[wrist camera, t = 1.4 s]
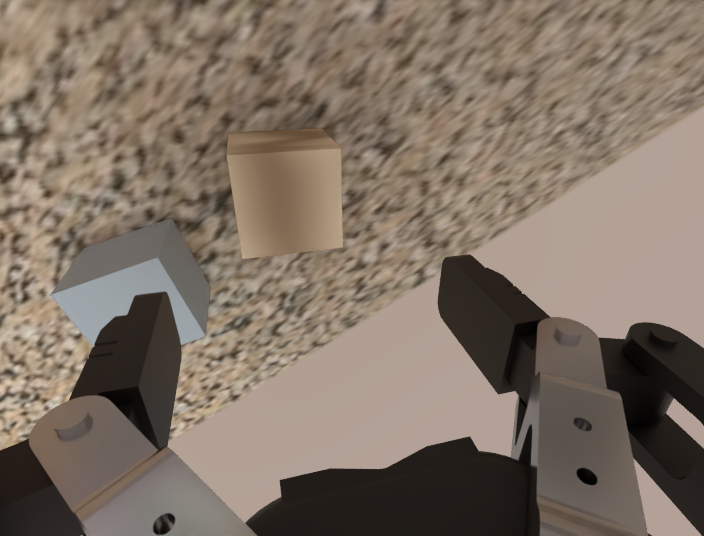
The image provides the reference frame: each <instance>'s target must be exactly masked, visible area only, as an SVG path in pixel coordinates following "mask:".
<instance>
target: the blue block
mask: <svg viewBox="0 0 704 536" xmlns="http://www.w3.org/2000/svg"><path fill="white" fill-rule="evenodd" d="M210 289H211V287H210V286H209V284H208V282H207V280H206V278H205V277H204V275H203V273H202V271H201V269H200V268H199V266H198V264H197V262H196V260H195V259H194V257H193V255H192V253H191V251H190V250H189V248H188V246H187V244H186V242H185V241H184V239H183V237H182V235H181V233H180V232H179V230H178V228H177V226H176V224H175V223H174V221H173V219H172V218H170V219H167V220H164V221H161V222H158V223H155V224H152V225H149V226H146V227H143V228H141V229H138V230H135V231H132V232H129V233H126V234H123V235H120V236H117V237H114V238H111V239H109V240H106V241H103V242H100V243H97V244H94V245H91V246H88V247H85V248H84V249H83V250H82V252H81V253H80V254H79V256H78V257H77V259H76V260H75V261H74V263H73V264H72V266H71V267H70V268H69V270H68V271H67V272H66V274H65V275H64V277H63V278H62V279H61V281H60V282H59V283H58V285H57V286H56V288H55V289H54V290H53V292H52V293H51V294H50V296H51V297H52V298H53V299H54V300H55V302H56V303H57V304H58V305H59V306H60V308H61V309H62V310H63V311H64V312H65V314H66V315H67V316H68V317H69V318H70V320H71V321H72V322H73V323H74V325H75V326H76V327H77V328H78V329H79V331H80V332H81V333H82V334H83V335H84V337H85V338H86V339H87V340H88V341H89V343H90V344H91V345H92V346H93V347H94V344H95V341H96V339H97V337H98V335H99V332H100V330H101V329H102V328H103V327H104V326H105V325H106V324H108V323H109V322H110V321H111V320H112V319H113V318H114V317H115V316H123V315H127V314H128V311H129V309H130V306H131V304H132V301H133V298H134V296H135V295H140V294H148V293H156V292H164V291H165V292H167V294H168V296H169V299H170V302H171V306H172V310H173V314H174V318H175V322H176V325H177V329H178V333H179V337H180V342H181V345H182V344H185V343H188V342H190V341H193V340H196V339H199V338H201V337H204V336H206V327H207V317H208V308H209V298H210Z"/></svg>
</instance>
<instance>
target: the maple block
mask: <svg viewBox="0 0 704 536" xmlns="http://www.w3.org/2000/svg"><path fill="white" fill-rule="evenodd" d="M227 162H228V168H229V175H230V181H231V188H232V195H233V201H234V208H235V214H236V221H237V227H238V234H239V240H240V247H241V253H242V259H247V258H256V257H264V256H273V255H282V254H291V253H300V252H309V251H318V250H326V249H335V248H343V236H342V175H341V148H340V147H339V146H338V145H337V144H336V143H335V142H334V140H333V139H332V138H331V137H330V136H329V135H328V134H327V133H326V132H325V131H324V130H323V129H322V128H314V129H294V130H274V131H254V132H234V133H228V144H227Z"/></svg>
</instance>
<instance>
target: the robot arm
mask: <svg viewBox="0 0 704 536" xmlns="http://www.w3.org/2000/svg"><path fill="white" fill-rule="evenodd" d="M438 309H439V313H440V316H441V318H442V319H443V321H444V322H445V324H446V325H447V326H448V328H449V329H450V330H451V331H452V333H453V334H454V336H455V337H456V338H457V340H458V341H459V342H460V344H461V345H462V346H463V348H464V349H465V350H466V352H467V353H468V354H469V356H470V357H471V358H472V360H473V361H474V363H475V364H476V365H477V367H478V368H479V369H480V371H481V372H482V373H483V375H484V376H485V377H486V379H487V380H488V381H489V383H490V384H491V385H492V386H493V388H494V389H495V391H496V392H497V393H498V394H502V393H507V392H512V391H516V393H517V394H518V395H519V396H518V399H517V403H516V409H515V419H514V430H513V440H512V450H511V458H510V457H508V456H504V455H500V454H496V453H490V452H483V451H478V449H477V448H476V446H475V445H474V443H473V441H472V439H471V438H470V437H466V438H461V439H457V440H453V441H448V442H444V443H440V444H435V445H431V446H427V447H425V448H423V449H421V450H419V451H417V452H416V453H414V454H412V455H410V456H408V457H406V458H404V459H402V460H400V461H399V462H397V463H395V464H393V465H391V466H389V467H387V468H384V469H327V470H322V471H317V472H313V473H309V474H304V475H300V476H296V477H291V478H287V479H283V480H280V486H281V497H280V498H278V499H277V500H275V501H273V502H271V503H270V504H268V505H267V506H265V507H264V508H262V509H261V510H259V511H258V512H257V513H256V514H255V515H253V516H252V517H251V518H250V519H249V520H248V521H247V522H246V523H244V522H243V521H242V520H241V519H240V518H239V517H238V516H237V515H236V514H235V513H234V512H233V511H232V510H231V509H230V508H229V507H228V506H227V505H226V504H225V503H224V502H223V501H222V500H221V499H220V498H219V497H218V496H217V495H216V494H215V493H214V492H213V491H212V490H211V489H210V488H209V487H208V486H207V485H206V484H205V483H204V482H203V481H202V480H201V479H200V478H199V477H198V476H197V475H196V474H195V473H194V472H193V471H192V470H191V469H190V468H189V467H188V466H187V465H186V464H185V463H184V462H183V461H182V460H181V459H180V458H179V457H178V455H177V454H175V453H174V452H173V451H172V450H171V449H170V448H168V447H167V445H168V439H169V433H170V426H171V420H172V414H173V408H174V401H175V395H176V389H177V383H178V376H179V370H180V364H181V342H180V337H179V333H178V329H177V325H176V322H175V318H174V314H173V310H172V306H171V302H170V299H169V296H168V294H167V292H165V291H164V292H156V293H148V294H140V295H135V296H134V298H133V301H132V304H131V306H130V309H129V311H128V314H127V315H123V316H115V317H114V318H113V319H112V320H111V321H110V322H109V323H108V324H106V325H105V326H104V327H103V328H102V329H101V330H100V332H99V335H98V337H97V339H96V341H95V344H94V347H93V348H92V350H91V352H90V355H89V359H87V361H86V363H85V366H84V368H83V370H82V372H81V375H80V377H79V379H78V381H77V383H76V386H75V388H74V390H73V392H72V394H71V397H70V399H69V401H67V402H65V403H63V404H60V405H59V406H57V407H55V408H54V409H52V410H51V411H49V412H48V413H47V414H45V415H44V416H43V417H42V418H41V419H40V420H39V421H38V422H37V423H36V425H35V426H34V428H33V429H32V431H31V433H30V436H29V439H27V440H25V441H23V442H20V443H18V444H16V445H13V446H11V447H8V448H5V449H3V450H0V536H81V535H82V536H652V535H650V534H648V532H647V527H646V522H645V517H644V512H643V507H642V501H641V496H640V491H639V486H638V481H637V476H636V471H635V465H634V460H633V458H634V459H635V460H636V461H637V462H638V463H639V464H640V466H641V467H642V468H643V469H644V470H645V471H646V472H647V474H648V475H649V476H650V477H651V478H652V479H653V480H654V481H655V483H656V484H657V485H658V486H659V487H660V488H661V490H662V491H663V492H664V493H665V494H666V495H667V496H668V497H669V498H670V500H671V501H672V502H673V503H674V504H675V505H676V506H677V508H678V509H679V510H680V511H681V512H682V513H683V514H684V516H685V517H686V518H687V519H688V520H689V521H690V522H691V524H692V525H693V526H694V527H695V528H696V529H697V530H698V531H699V533H700V534H701V535H702V536H704V449H703V448H702V447H701V446H700V445H699V444H698V443H697V442H696V441H695V440H694V439H693V438H692V437H691V436H690V435H688V434H687V433H686V432H685V431H684V430H683V429H682V428H681V427H680V426H679V425H678V424H677V423H676V422H674V421H673V420H672V419H671V418H670V417H669V416H668V415H667V414H666V411H667V410H668V408H669V405H670V404H671V402H672V400H673V398H674V399H676V400H677V401H678V402H679V403H680V404H681V405H683V406H684V407H685V408H686V409H687V410H688V411H689V412H690V413H692V414H693V415H694V416H695V417H696V418H697V419H698V420H699V421H701V423H702V424H703V425H704V348H703V347H701V346H700V345H698V344H697V343H695V342H694V341H693V340H691V339H690V338H688V337H687V336H685V335H684V334H682V333H680V332H679V331H676V330H674V329H672V328H670V327H666V326H664V325H660V324H655V323H644V322H643V323H637V324H634V325H632V326H631V327H630V329H629V331H628V334H627V336H626V339H612V338H598V336H597V335H596V334H595V333H594V332H593V331H592V330H591V329H590V328H588V327H587V326H585V325H583V324H581V323H579V322H577V321H574V320H571V319H567V318H559V317H550V316H549V315H547V314H546V313H545V312H544V311H543V310H542V309H541V308H539V307H538V306H537V305H536V304H535V303H534V302H533V301H531V300H530V299H529V298H528V297H527V296H526V295H525V294H522V292H521V291H520V290H519V289H518V288H517V287H516V286H513V284H512V283H511V282H510V281H509V280H508V279H506V278H505V277H504V276H503V275H501V274H499V273H497V272H495V271H493V270H491V269H489V268H485V267H484V266H482V264H480V263H479V262H478V261H477V260H476V259H475V258H474V257H473V256H471V255H469V254H468V255H460V256H452V257H446V258H445V259H444V260H443V263H442V270H441V278H440V286H439V295H438Z"/></svg>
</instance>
